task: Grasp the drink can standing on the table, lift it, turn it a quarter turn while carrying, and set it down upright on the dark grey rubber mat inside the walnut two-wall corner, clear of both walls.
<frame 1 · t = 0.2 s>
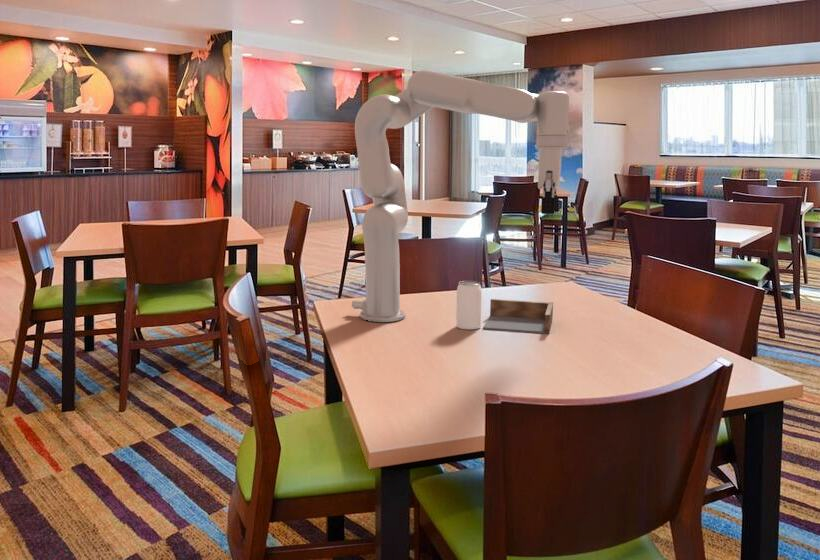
hand: (549, 211, 169), 31 cm above the table, fingers open, 9 cm apart
can: (468, 327, 177), on the table
mat: (518, 324, 179), on the table
corner walls: (518, 324, 179), resting in mat
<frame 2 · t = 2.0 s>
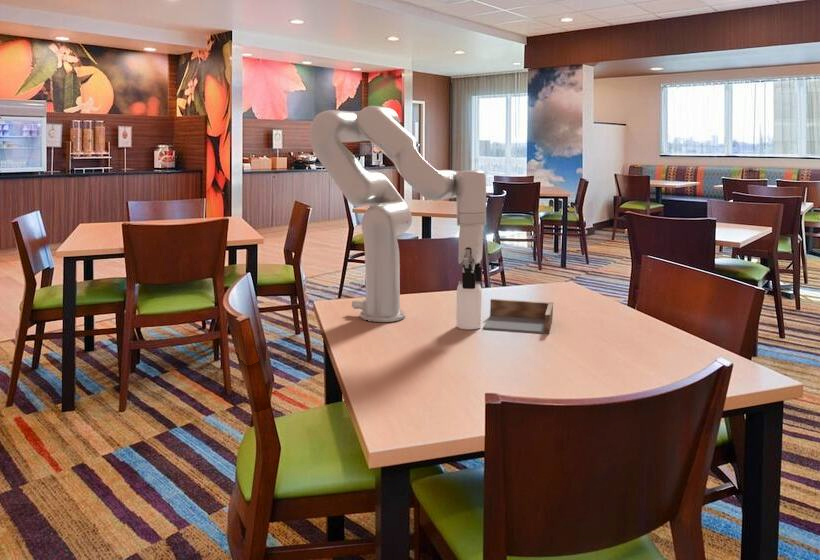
hand: (472, 284, 174), 11 cm above the table, fingers open, 9 cm apart
nothing on the table moved.
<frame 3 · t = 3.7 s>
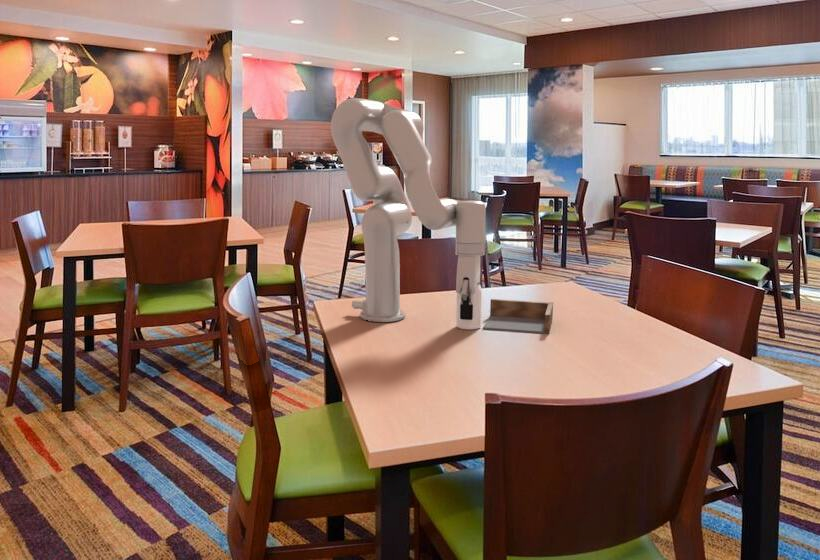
hand: (468, 315, 176), 3 cm above the table, fingers closed on can, 6 cm apart
can: (468, 327, 177), on the table, touching gripper
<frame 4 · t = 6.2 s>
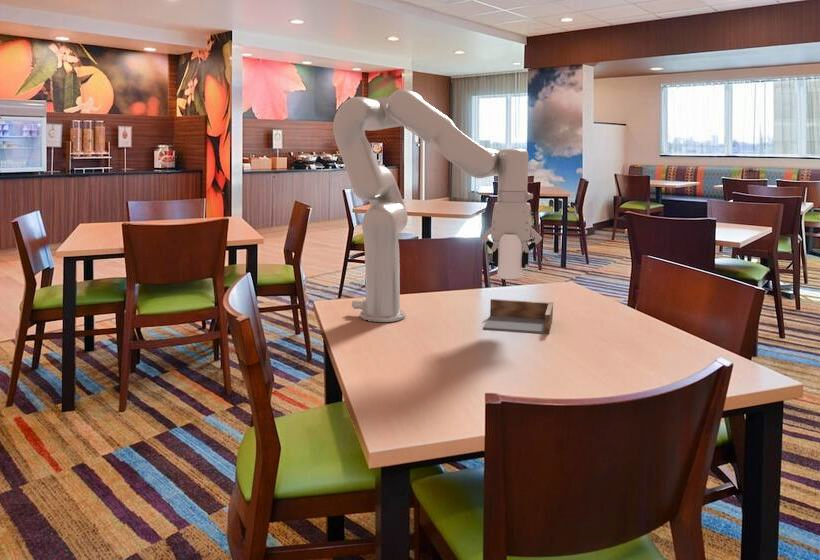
hand: (510, 265, 175), 16 cm above the table, fingers closed on can, 6 cm apart
can: (509, 278, 175), point 13 cm above the table, touching gripper
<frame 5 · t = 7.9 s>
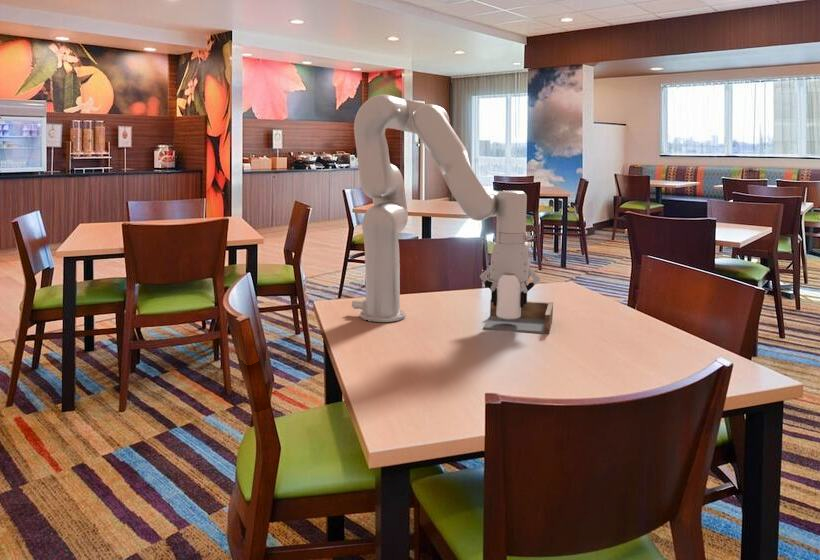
hand: (508, 305, 177), 6 cm above the table, fingers closed on can, 6 cm apart
can: (508, 317, 177), point 2 cm above the table, touching gripper
when the fingers open (5 cm above the table, at t = 9.0 s): can drops 1 cm, resting on mat.
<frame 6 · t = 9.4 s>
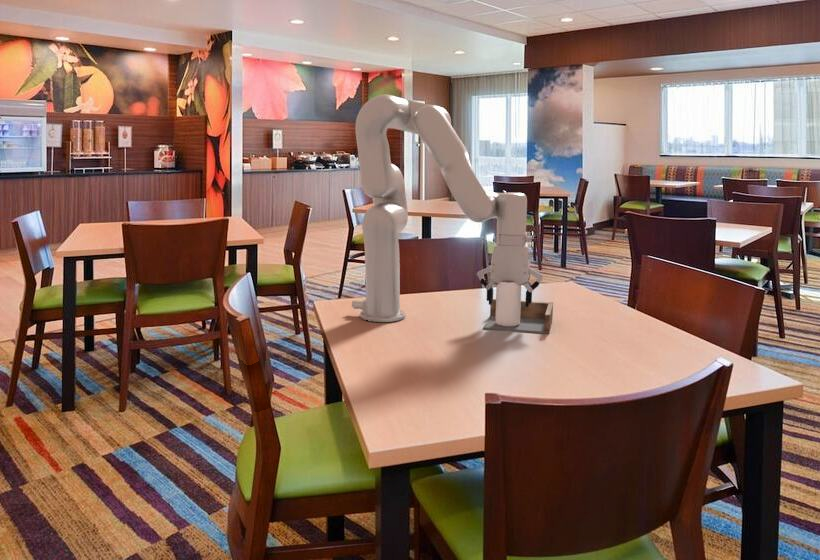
hand: (508, 304, 177), 6 cm above the table, fingers open, 9 cm apart
can: (507, 324, 178), resting on mat
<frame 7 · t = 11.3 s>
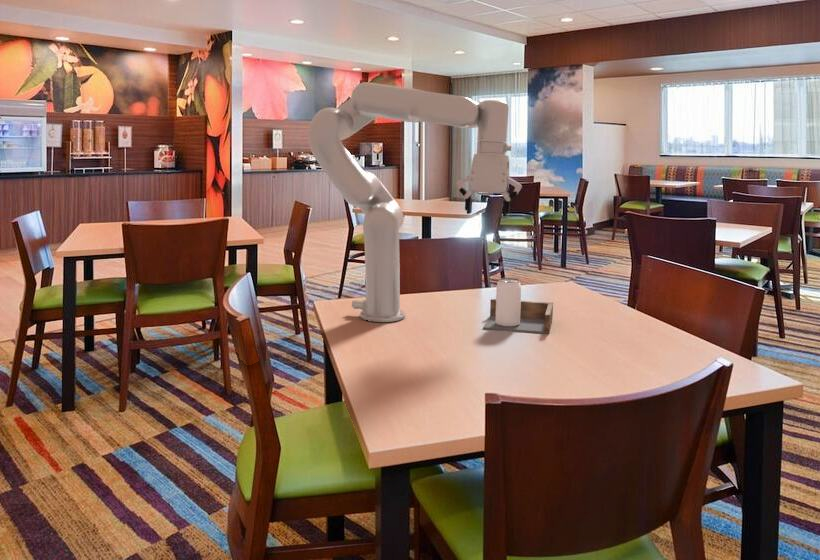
hand: (486, 214, 178), 29 cm above the table, fingers open, 9 cm apart
nothing on the table moved.
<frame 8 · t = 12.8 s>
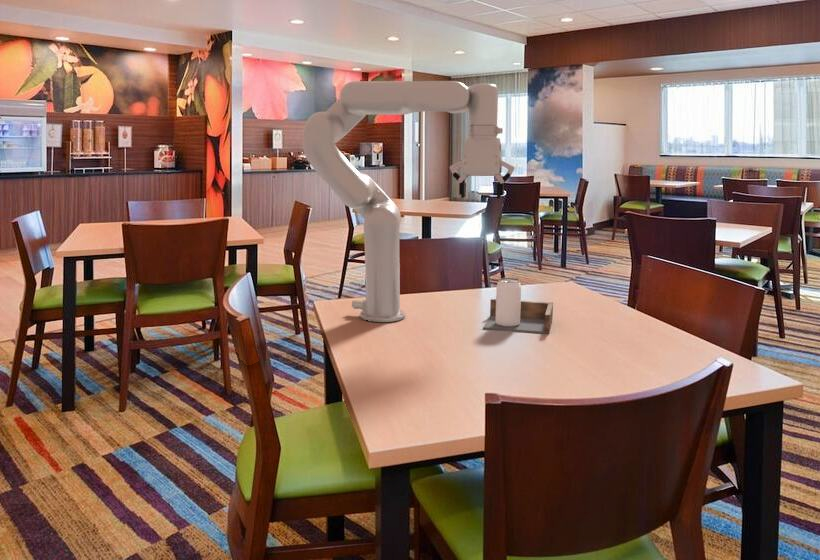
hand: (481, 197, 179), 33 cm above the table, fingers open, 9 cm apart
nothing on the table moved.
at the end: can inside the target area on the mat (1.3 cm from its centre), point 0.3 cm above the mat's base; can tilted 0°; can touching mat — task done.
